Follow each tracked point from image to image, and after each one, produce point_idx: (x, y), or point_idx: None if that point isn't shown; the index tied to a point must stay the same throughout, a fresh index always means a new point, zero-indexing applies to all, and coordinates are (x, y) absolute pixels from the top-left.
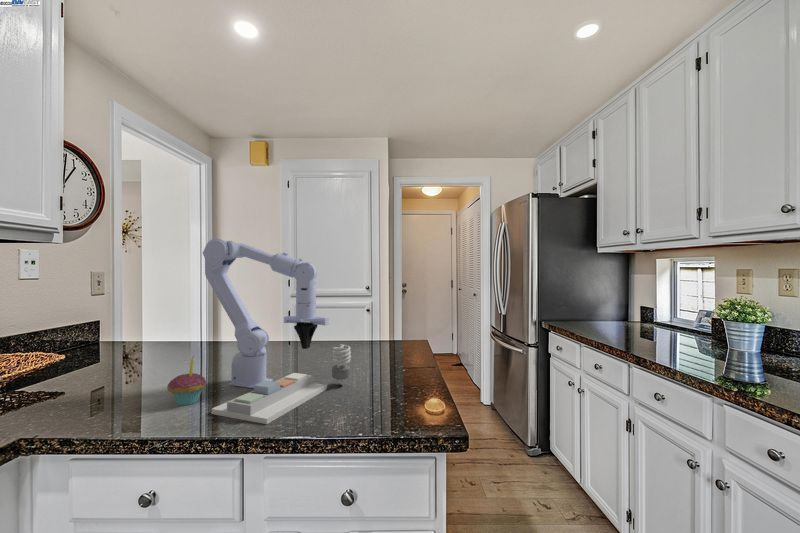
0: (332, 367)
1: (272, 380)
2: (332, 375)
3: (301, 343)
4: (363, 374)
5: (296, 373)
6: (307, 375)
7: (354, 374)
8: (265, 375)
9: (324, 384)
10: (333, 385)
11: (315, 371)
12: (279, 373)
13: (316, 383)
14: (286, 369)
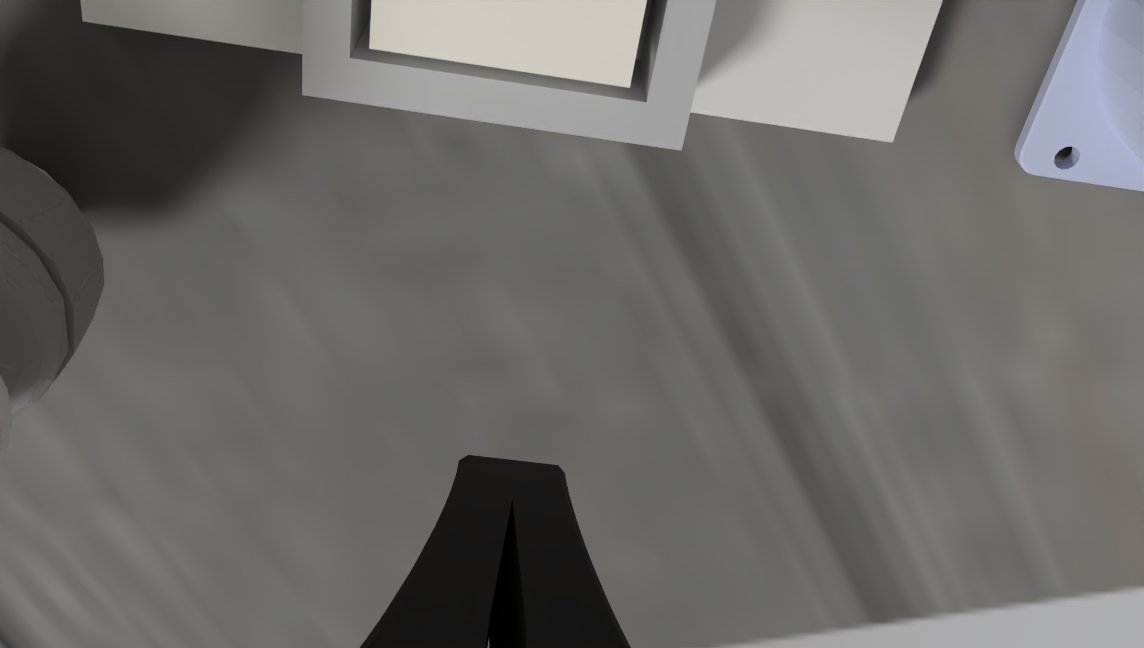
0: (22, 281)
1: (1015, 148)
2: (52, 196)
3: (562, 532)
4: (38, 561)
5: (574, 62)
6: (385, 72)
7: (132, 546)
8: (1138, 82)
9: (127, 27)
10: (120, 161)
11: (618, 558)
12: (1024, 433)
13: (264, 43)
14: (987, 562)
